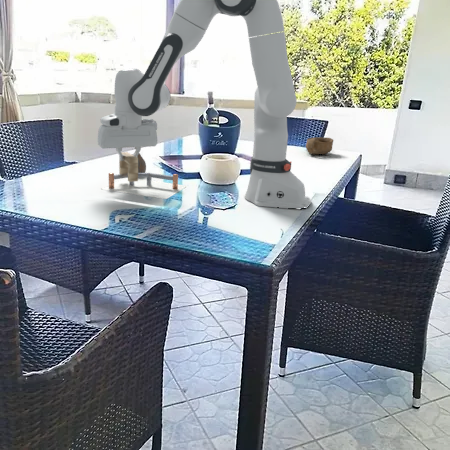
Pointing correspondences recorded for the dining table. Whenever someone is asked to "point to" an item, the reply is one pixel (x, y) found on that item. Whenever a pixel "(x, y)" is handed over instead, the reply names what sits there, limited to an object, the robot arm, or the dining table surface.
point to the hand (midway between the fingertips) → (128, 160)
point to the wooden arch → (129, 166)
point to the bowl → (319, 145)
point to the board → (146, 188)
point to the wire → (148, 175)
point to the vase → (141, 164)
